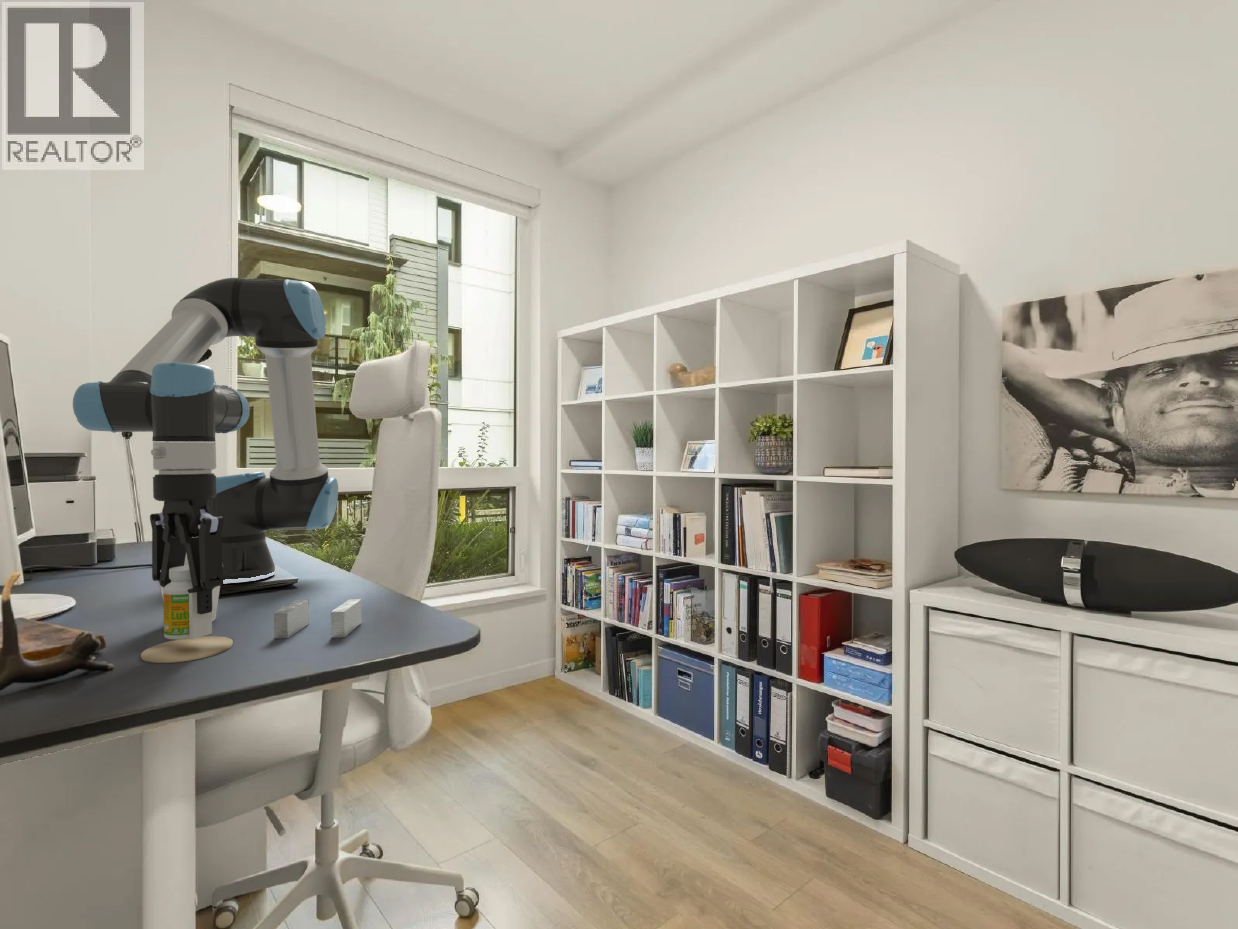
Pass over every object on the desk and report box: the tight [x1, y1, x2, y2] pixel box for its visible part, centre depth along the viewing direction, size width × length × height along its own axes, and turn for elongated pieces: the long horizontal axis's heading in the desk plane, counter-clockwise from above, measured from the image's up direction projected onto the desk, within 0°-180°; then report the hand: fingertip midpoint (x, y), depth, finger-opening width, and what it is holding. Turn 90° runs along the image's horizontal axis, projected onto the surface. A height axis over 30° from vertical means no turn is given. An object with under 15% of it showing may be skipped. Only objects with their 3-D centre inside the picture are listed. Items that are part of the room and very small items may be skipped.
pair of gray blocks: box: [273, 598, 363, 640], centre depth 103 cm, size 8×10×4 cm
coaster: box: [140, 635, 234, 664], centre depth 93 cm, size 11×11×1 cm
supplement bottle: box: [162, 566, 201, 641], centre depth 93 cm, size 5×5×10 cm
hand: (187, 632), depth 93 cm, fingers closed on supplement bottle, 5 cm apart
